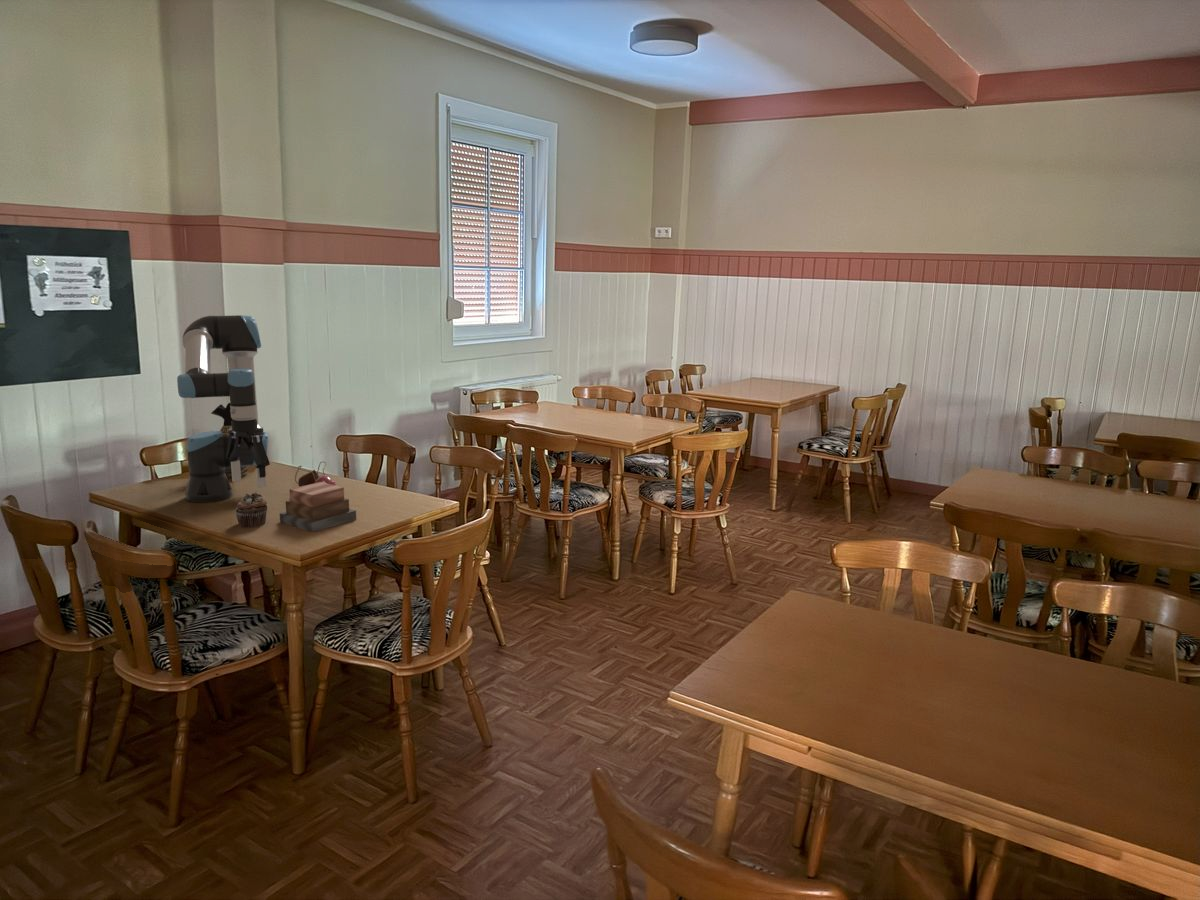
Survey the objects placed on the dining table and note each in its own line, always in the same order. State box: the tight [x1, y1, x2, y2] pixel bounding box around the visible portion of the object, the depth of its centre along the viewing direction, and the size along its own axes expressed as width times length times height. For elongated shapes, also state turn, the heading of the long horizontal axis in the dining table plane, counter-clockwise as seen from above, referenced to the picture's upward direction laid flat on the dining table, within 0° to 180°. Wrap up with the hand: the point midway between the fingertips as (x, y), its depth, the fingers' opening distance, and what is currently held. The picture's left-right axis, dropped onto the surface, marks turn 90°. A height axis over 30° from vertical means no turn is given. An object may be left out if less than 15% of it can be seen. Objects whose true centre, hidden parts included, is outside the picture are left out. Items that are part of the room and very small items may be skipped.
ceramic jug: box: [210, 402, 251, 478], centre depth 324 cm, size 17×15×30 cm
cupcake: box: [234, 492, 268, 528], centre depth 266 cm, size 10×10×10 cm
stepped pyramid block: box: [279, 481, 357, 533], centre depth 270 cm, size 17×17×11 cm
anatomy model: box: [294, 460, 337, 487], centre depth 298 cm, size 11×15×17 cm
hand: (249, 484), depth 264 cm, fingers open, 13 cm apart
